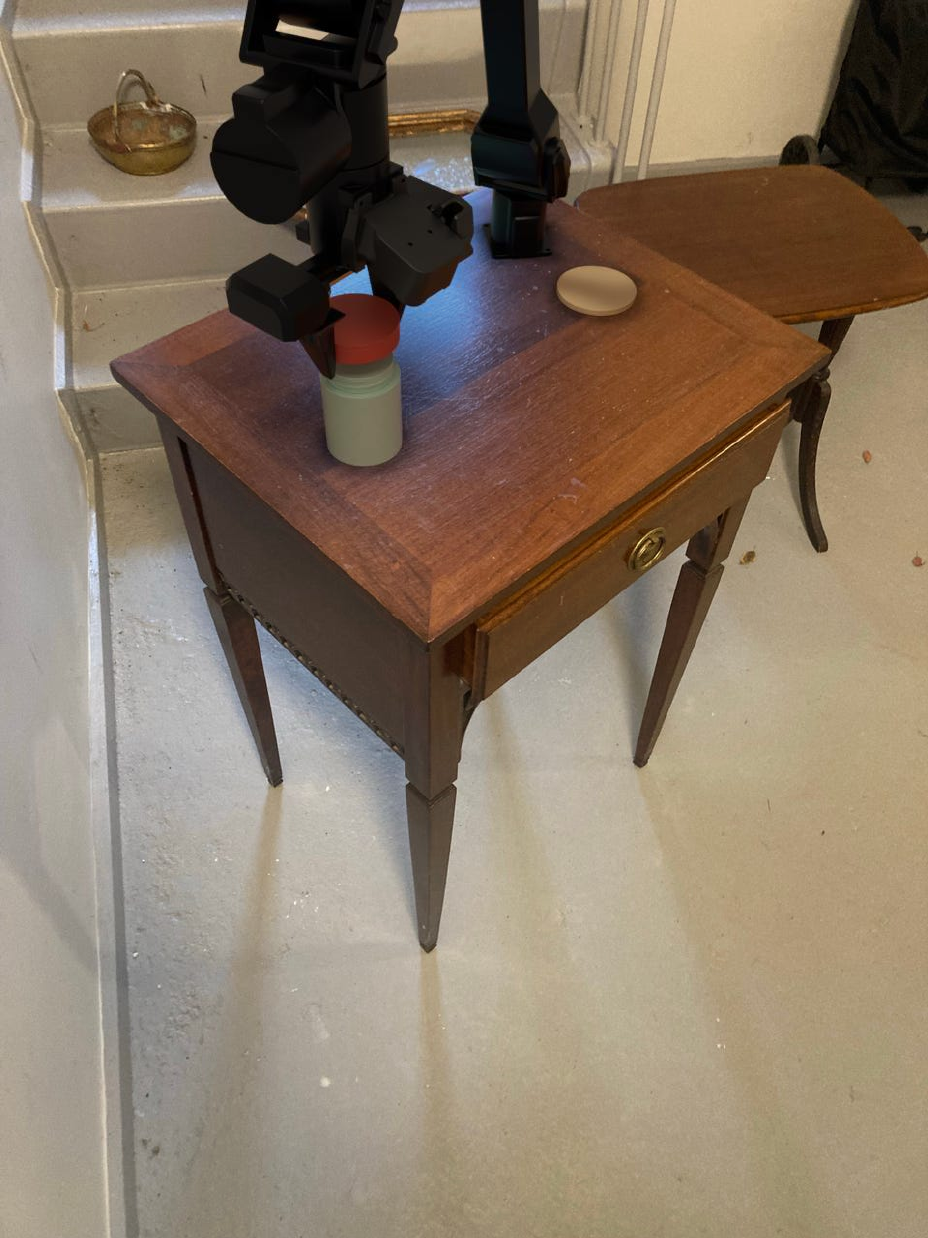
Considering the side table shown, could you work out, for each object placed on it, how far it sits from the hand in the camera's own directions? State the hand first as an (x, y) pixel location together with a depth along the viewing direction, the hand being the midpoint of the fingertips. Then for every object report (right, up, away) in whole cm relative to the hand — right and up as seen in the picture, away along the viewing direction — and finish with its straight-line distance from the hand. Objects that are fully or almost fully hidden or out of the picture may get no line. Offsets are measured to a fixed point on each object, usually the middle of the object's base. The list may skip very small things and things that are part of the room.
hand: (359, 355), depth 72 cm
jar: (0, -5, +7) cm, 9 cm away
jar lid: (0, +2, -2) cm, 3 cm away
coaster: (+21, +12, +22) cm, 33 cm away
